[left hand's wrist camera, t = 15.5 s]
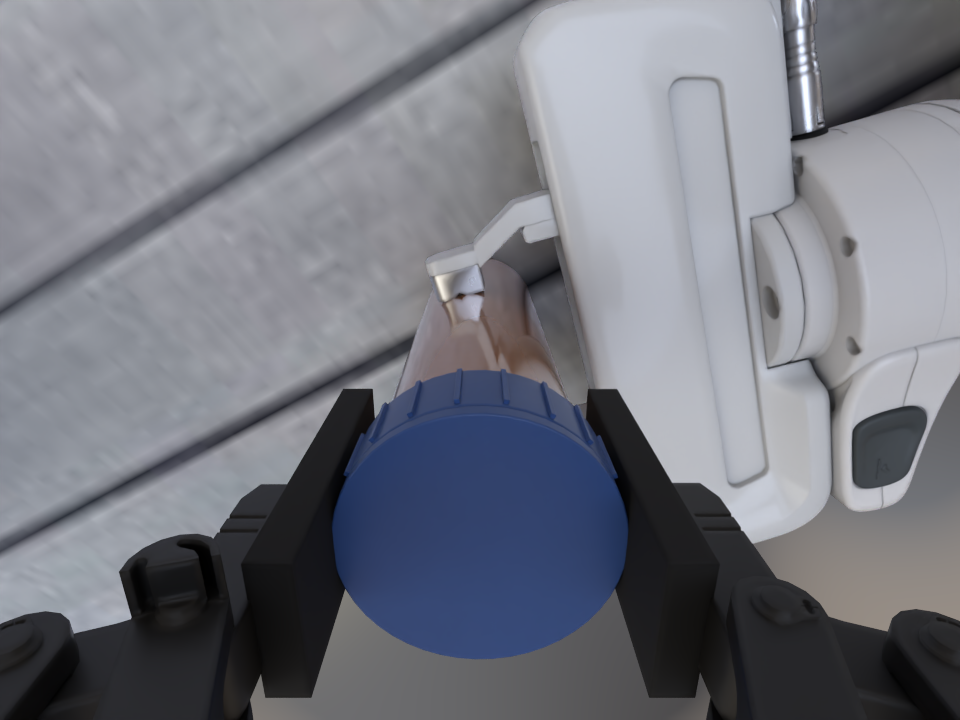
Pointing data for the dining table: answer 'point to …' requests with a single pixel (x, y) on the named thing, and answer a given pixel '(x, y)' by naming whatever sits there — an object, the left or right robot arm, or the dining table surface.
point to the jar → (482, 334)
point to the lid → (480, 517)
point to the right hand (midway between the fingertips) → (457, 360)
